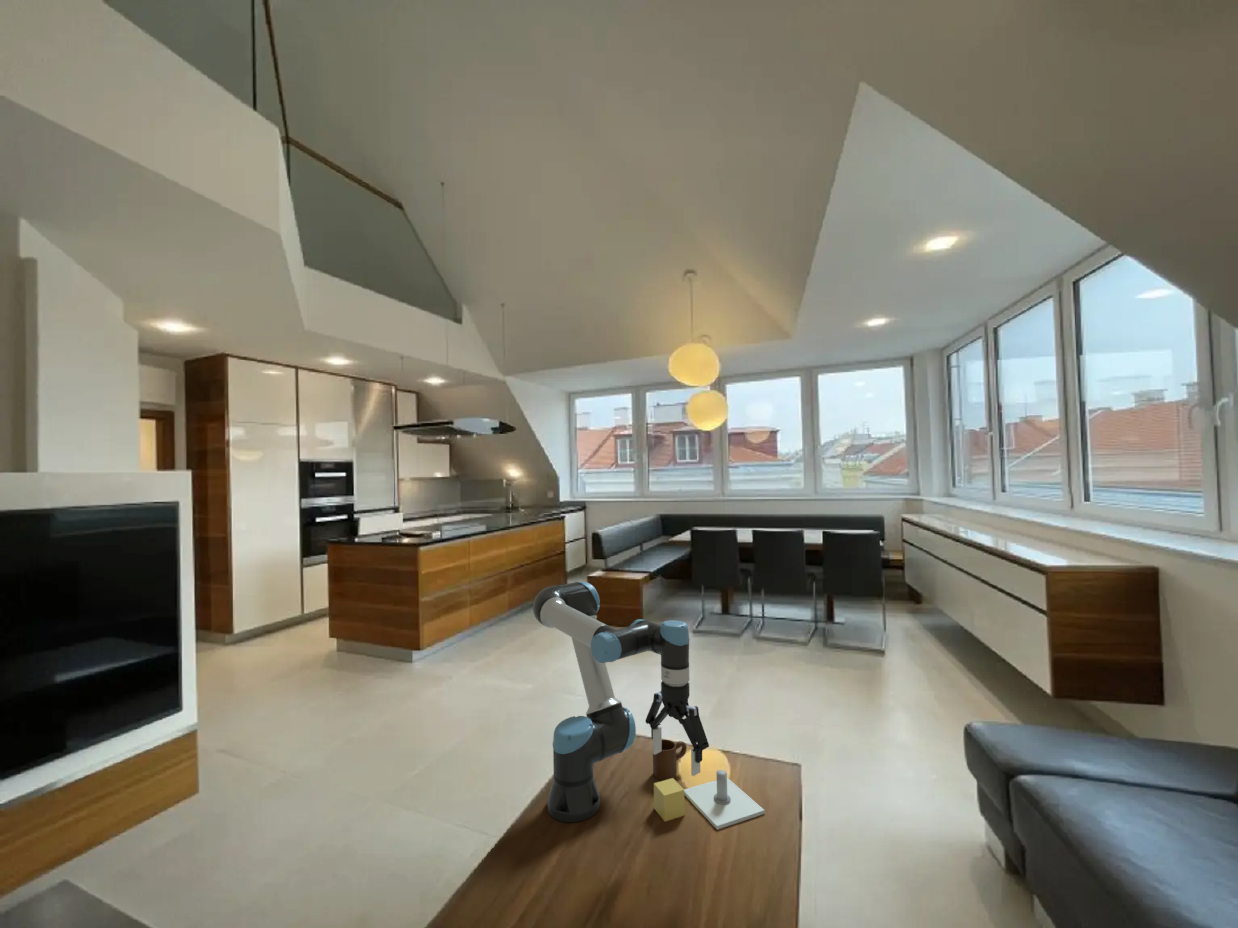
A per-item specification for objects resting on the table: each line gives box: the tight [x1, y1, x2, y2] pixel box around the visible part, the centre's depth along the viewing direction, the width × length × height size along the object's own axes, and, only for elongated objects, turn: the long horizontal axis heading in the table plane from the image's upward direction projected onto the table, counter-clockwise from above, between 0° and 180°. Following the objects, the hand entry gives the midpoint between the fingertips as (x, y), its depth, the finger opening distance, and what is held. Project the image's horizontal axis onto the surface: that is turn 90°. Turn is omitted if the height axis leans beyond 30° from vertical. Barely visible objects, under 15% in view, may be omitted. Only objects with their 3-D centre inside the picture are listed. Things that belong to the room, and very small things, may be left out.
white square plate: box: [683, 769, 765, 830], centre depth 147 cm, size 18×16×9 cm
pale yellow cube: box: [653, 778, 686, 823], centre depth 143 cm, size 6×6×7 cm
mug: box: [652, 739, 688, 781], centre depth 163 cm, size 12×8×9 cm, turn 114°
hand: (675, 762), depth 133 cm, fingers open, 13 cm apart
